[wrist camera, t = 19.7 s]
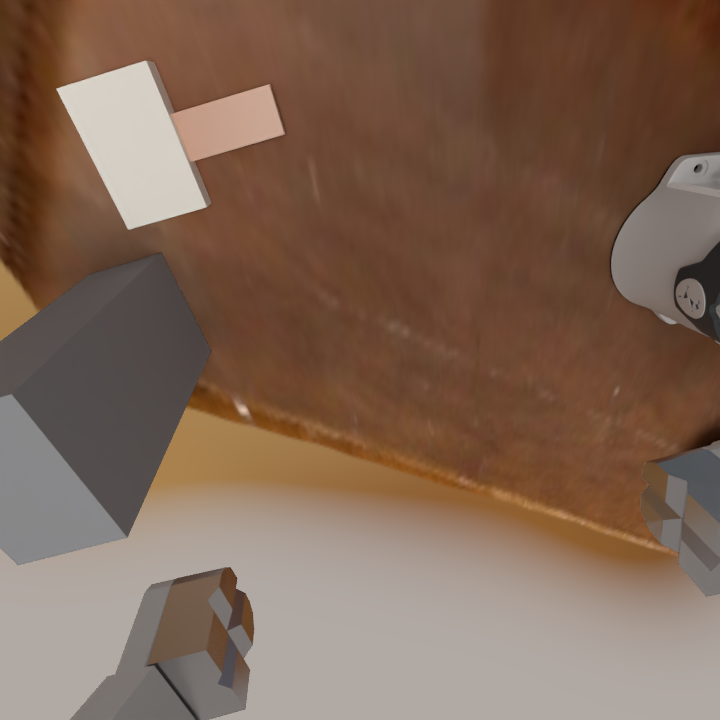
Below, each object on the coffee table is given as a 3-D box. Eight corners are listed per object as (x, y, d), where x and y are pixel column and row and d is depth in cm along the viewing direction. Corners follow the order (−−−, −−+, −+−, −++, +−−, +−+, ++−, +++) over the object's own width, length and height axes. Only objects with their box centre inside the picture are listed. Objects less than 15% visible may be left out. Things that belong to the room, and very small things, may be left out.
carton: (161, 252, 47) (11, 394, 25) (211, 350, 53) (127, 537, 30) (89, 274, 48) (-121, 431, 25) (146, 368, 54) (18, 565, 31)
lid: (254, 30, 38) (250, 27, 37) (299, 178, 44) (298, 181, 43) (68, 89, 40) (56, 88, 38) (136, 224, 46) (128, 229, 44)
